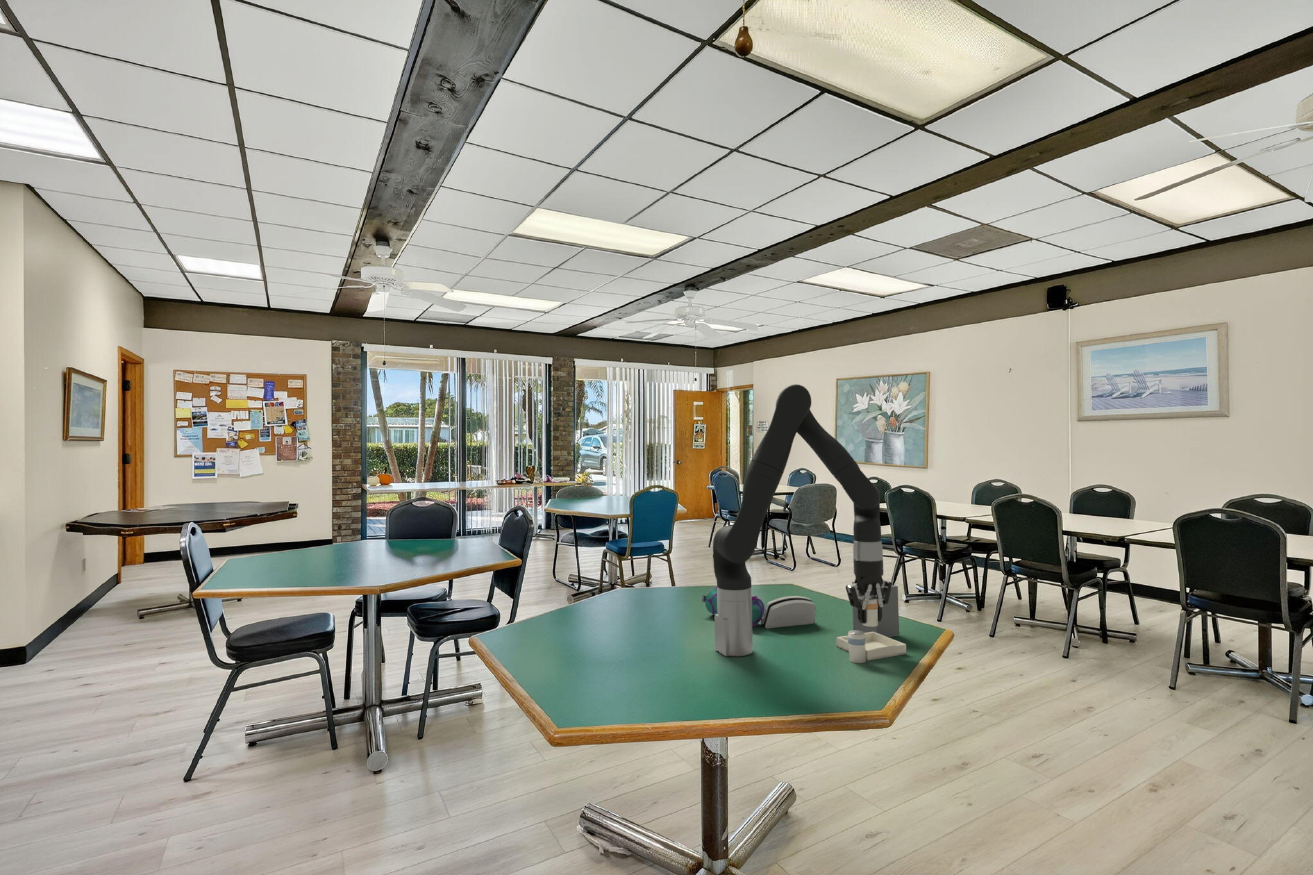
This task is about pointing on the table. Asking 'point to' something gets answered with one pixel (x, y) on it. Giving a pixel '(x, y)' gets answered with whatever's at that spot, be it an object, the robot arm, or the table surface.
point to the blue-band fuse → (857, 646)
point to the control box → (883, 617)
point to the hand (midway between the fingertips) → (870, 621)
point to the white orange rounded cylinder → (871, 612)
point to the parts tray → (876, 646)
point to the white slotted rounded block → (789, 612)
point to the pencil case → (756, 606)
